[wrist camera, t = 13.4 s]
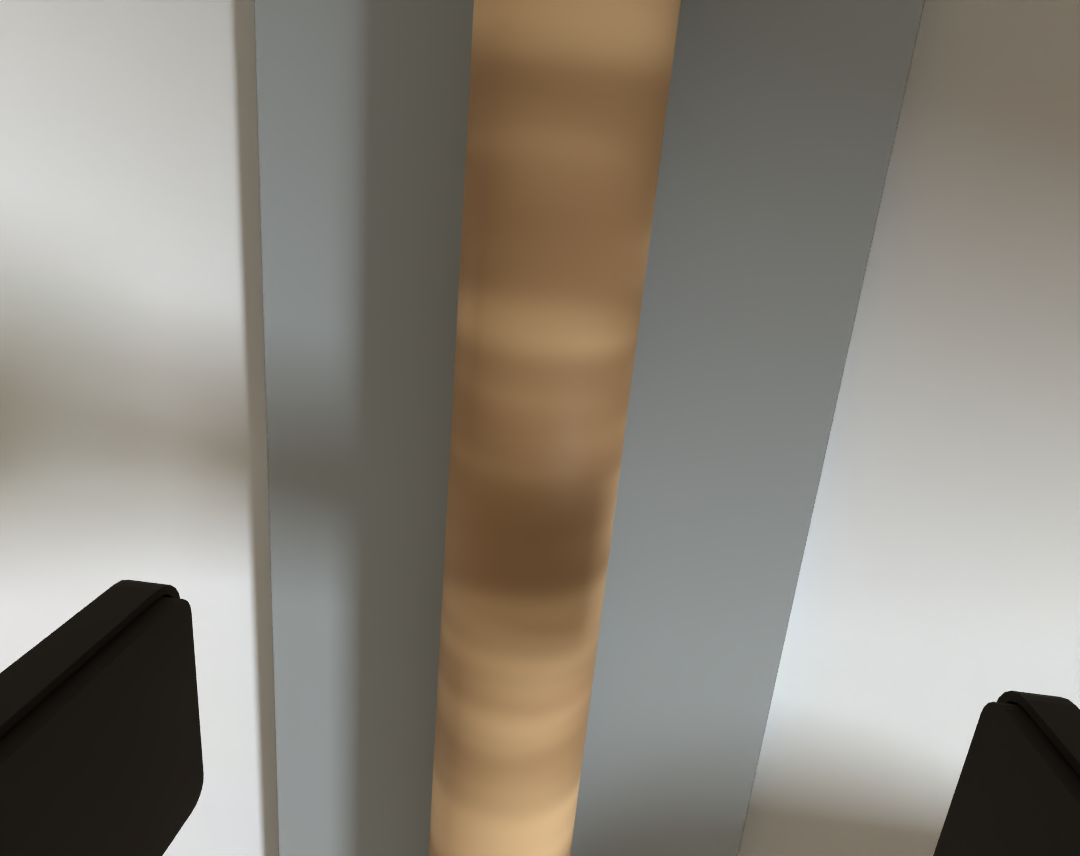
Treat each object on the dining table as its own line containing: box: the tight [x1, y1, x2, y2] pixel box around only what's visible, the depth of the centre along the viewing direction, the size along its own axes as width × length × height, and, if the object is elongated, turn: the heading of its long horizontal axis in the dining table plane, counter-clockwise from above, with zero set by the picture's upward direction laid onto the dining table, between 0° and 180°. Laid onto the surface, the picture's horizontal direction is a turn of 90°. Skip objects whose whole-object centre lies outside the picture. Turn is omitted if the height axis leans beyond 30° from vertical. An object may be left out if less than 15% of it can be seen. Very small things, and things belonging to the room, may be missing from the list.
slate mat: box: [254, 0, 925, 856], centre depth 15 cm, size 11×25×1 cm, turn 175°
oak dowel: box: [429, 0, 681, 856], centre depth 13 cm, size 24×3×3 cm, turn 175°
